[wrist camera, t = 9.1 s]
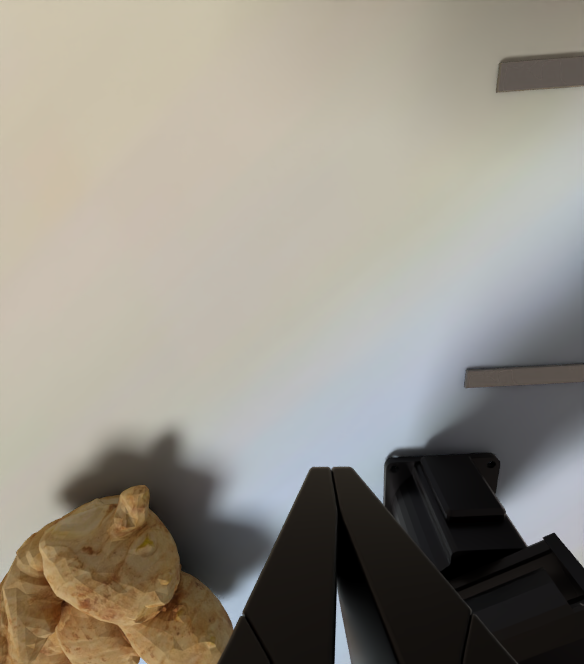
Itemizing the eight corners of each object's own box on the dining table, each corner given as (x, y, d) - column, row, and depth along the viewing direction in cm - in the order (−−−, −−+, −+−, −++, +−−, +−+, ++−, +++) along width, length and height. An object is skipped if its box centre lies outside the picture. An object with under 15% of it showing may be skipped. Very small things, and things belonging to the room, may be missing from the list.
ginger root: (234, 463, 21) (201, 644, 14) (259, 589, 30) (245, 736, 23) (-37, 461, 22) (-189, 632, 15) (66, 584, 31) (0, 726, 24)
